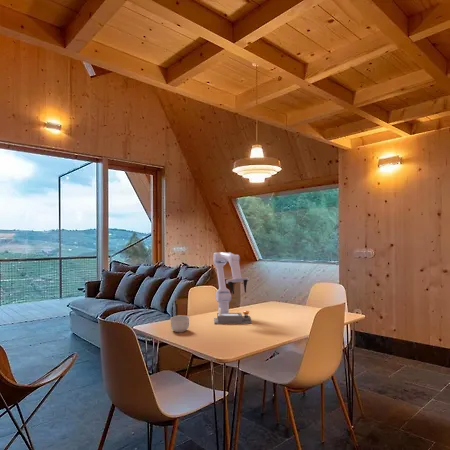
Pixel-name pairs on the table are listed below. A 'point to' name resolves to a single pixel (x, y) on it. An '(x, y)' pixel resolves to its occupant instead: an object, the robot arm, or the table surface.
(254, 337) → the table surface
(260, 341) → the table surface
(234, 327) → the table surface
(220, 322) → the housing
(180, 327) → the teacup
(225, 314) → the cartridge
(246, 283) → the robot arm
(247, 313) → the plunger
